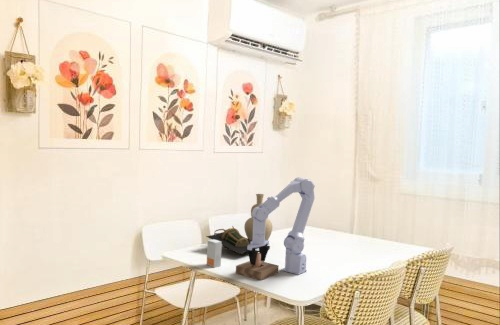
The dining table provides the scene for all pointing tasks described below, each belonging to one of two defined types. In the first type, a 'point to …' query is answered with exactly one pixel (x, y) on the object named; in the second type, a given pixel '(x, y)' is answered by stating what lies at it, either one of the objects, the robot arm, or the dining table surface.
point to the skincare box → (214, 253)
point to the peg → (258, 260)
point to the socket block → (257, 270)
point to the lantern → (232, 240)
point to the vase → (249, 222)
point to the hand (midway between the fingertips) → (257, 262)
